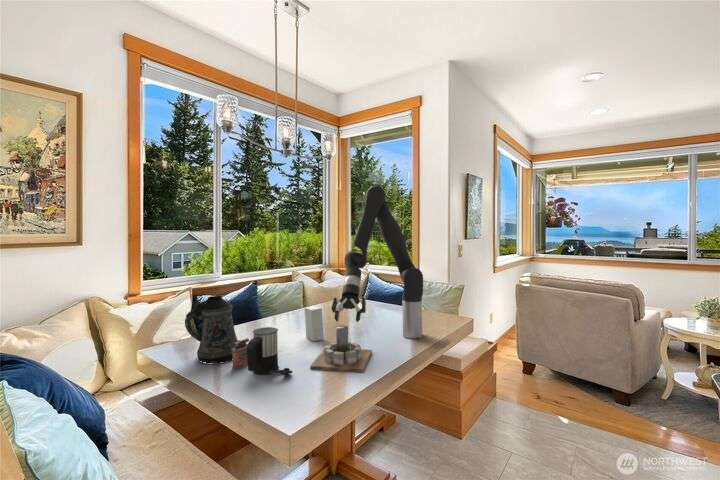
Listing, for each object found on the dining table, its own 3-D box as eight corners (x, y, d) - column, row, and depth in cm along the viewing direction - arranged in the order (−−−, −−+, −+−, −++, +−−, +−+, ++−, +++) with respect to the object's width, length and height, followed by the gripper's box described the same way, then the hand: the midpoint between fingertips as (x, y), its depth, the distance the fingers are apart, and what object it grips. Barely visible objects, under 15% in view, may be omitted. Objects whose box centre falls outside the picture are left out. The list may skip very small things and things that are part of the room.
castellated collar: (371, 352, 142) (371, 340, 142) (363, 372, 123) (362, 358, 123) (325, 350, 146) (325, 338, 146) (310, 369, 127) (309, 355, 126)
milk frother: (258, 364, 132) (257, 326, 131) (299, 365, 131) (298, 326, 130) (243, 381, 117) (242, 338, 117) (288, 381, 116) (288, 338, 116)
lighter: (236, 370, 126) (235, 343, 126) (230, 368, 128) (229, 342, 128) (253, 363, 133) (252, 337, 133) (247, 361, 135) (246, 336, 135)
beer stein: (248, 353, 143) (247, 294, 143) (207, 370, 127) (205, 303, 126) (223, 347, 152) (221, 291, 151) (181, 362, 135) (179, 299, 134)
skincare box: (324, 339, 161) (323, 308, 160) (312, 341, 158) (311, 309, 157) (316, 335, 168) (315, 305, 168) (304, 337, 165) (304, 306, 164)
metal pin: (349, 355, 136) (349, 325, 136) (347, 359, 132) (346, 329, 132) (338, 354, 137) (337, 325, 137) (335, 359, 133) (334, 328, 132)
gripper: (334, 283, 150) (328, 315, 139) (366, 283, 147) (362, 316, 136) (337, 292, 155) (331, 325, 144) (368, 292, 152) (365, 325, 141)
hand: (346, 320), depth 140 cm, fingers open, 8 cm apart
